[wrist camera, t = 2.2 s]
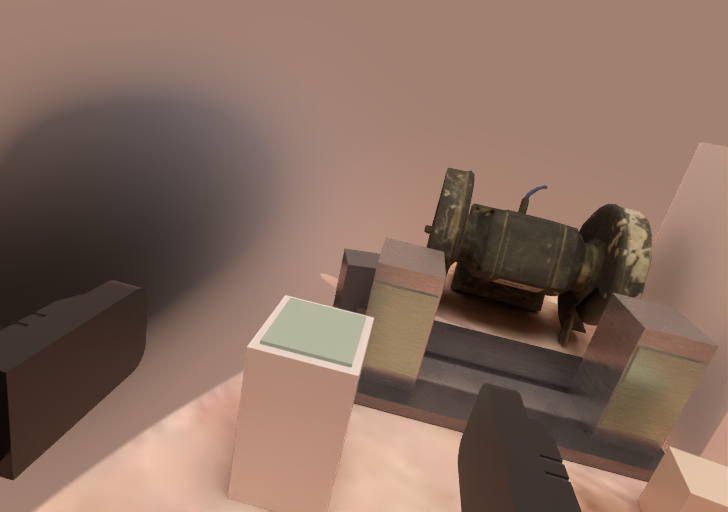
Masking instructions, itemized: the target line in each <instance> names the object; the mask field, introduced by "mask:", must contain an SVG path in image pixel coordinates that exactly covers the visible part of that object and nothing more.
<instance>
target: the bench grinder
mask: <svg viewBox="0 0 728 512" xmlns="http://www.w3.org/2000/svg"><path fill="white" fill-rule="evenodd" d="M473 187H474V173H473V172H472V171H462V170H457V169H452V168H448V169H447V172H446V176H445V180H444V184H443V188H442V191H441V196H440V199H439V202H438V206H437V210H436V213H435V217H434V221H433V224H432V226H428V225H427V226H426V227H425V232H426V233H429V234H430V235H429V240H428V244H427V248H430V249H434V250H439V251H443V252H444V257H445V270H446V277H447V273H448V270H449V268H450V266H451V265H452V264H453V263H454V262H457V265H456V268H455V272H454V276H453V280H452V285H451V288H452V289H454V290H457V291H461V292H465V293H469V294H472V295H476V296H480V297H484V298H487V299H491V300H495V301H498V302H502V303H506V304H510V305H514V306H517V307H521V308H525V309H529V310H533V311H541V308H542V304H543V300H544V296H545V295H548V296H557V295H558V316H559V320H560V324H561V332H560V335H559V338H558V342H561V343H565V342H568V340H569V337H570V333H571V330H576V331H579V332H583V333H586V330H585V328H584V324H583V322H584V323H586V324H588V325H594V326H596V325H598V324H599V321H600V319H601V317H602V315H603V312H604V310H605V308H606V306H607V304H608V301H609V299H610V297H611V295H612V293H616V294H620V295H624V296H629V297H633V298H637V299H641V298H642V294H643V290H644V286H645V282H646V279H647V275H648V272H649V268H650V264H651V259H652V244H651V241H652V239H651V238H652V234H651V229H650V225H649V222H648V221H647V219H646V217H645V216H644V215H643V214H642V213H641V212H638V211H635V210H631V209H626V208H622V207H619V206H618V205H616V204H607V205H604V206H602V207H601V208H599V209H598V210H597V211H596V212H594V213H593V214H592V215H591V217H590V218H589V219H588V220H587V221H586V222H585V223H584V224H583V225H582V228H581V229H580V231H579V232H578V229H577V228H574V227H570V226H567V225H564V224H561V223H557V222H554V221H550V220H546V219H542V218H538V217H534V216H530V215H526V211H527V207H528V203H529V197H530V195H532V194H533V193H535V192H536V191H538V190H540V189H546V188H547V186H541V187H537V188H535V189H533V190H531V191H530V192H529V193H527V195H526V196H525V197H524V198H523V199H522V201H521V205H520V208H519V211H518V212H514V211H510V210H501V209H495V208H490V207H486V206H483V205H478V204H473V205H472V206H471V210H470V214H468V213H469V208H470V202H471V198H472V192H473ZM443 289H444V288H443ZM442 293H443V291H442ZM441 297H442V295H441ZM440 300H441V298H440ZM439 304H440V302H439ZM438 307H439V305H438ZM437 309H438V308H437ZM564 330H565V333H564V336H563V338H562V335H563V332H564Z"/></svg>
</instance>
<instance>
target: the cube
mask: <svg viewBox="0 0 728 512" xmlns="http://www.w3.org/2000/svg"><path fill="white" fill-rule="evenodd" d="M641 300H645V301H649V302H653V303H658V304H662V305H666V306H670V307H674V308H676V309H677V310H678V311H679V312H680V313H681V314H682V315H684V316H685V317H686V318H687V319H688V320H689V321H691V322H692V323H693V324H694V325H695V326H696V327H697V328H699V329H700V330H701V331H702V332H703V333H704V334H705V335H707V336H708V337H709V338H710V339H711V340H712V341H714V342H715V343H716V344H717V345H718V346H719V347H718V348H717V350H716V352H715V354H714V355H713V357H712V359H711V361H710V362H709V364H708V366H707V368H706V369H705V371H704V373H703V375H702V376H701V378H700V380H699V382H698V383H697V385H696V387H695V389H694V390H693V392H692V394H691V396H690V397H689V399H688V401H687V403H686V404H685V406H684V408H683V410H682V411H681V413H680V415H679V417H678V418H677V420H676V422H675V424H674V425H673V427H672V429H671V431H670V432H669V434H668V436H667V438H666V439H667V441H668V443H669V445H670V447H673V448H676V449H679V450H681V451H684V452H687V453H690V454H693V455H695V456H698V457H701V458H704V459H707V460H709V461H712V462H715V463H718V464H721V465H724V466H726V467H728V146H722V145H715V144H708V143H701V142H700V143H699V145H698V147H697V150H696V152H695V154H694V156H693V158H692V160H691V163H690V165H689V167H688V169H687V171H686V173H685V176H684V178H683V180H682V182H681V184H680V186H679V188H678V190H677V193H676V195H675V197H674V199H673V201H672V203H671V205H670V208H669V210H668V212H667V214H666V216H665V219H664V220H663V223H662V225H661V227H660V229H659V231H658V233H657V236H656V238H655V240H654V242H653V244H652V259H651V264H650V268H649V272H648V275H647V279H646V282H645V286H644V290H643V294H642V298H641Z"/></svg>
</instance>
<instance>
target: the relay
mask: <svg viewBox="0 0 728 512" xmlns="http://www.w3.org/2000/svg"><path fill="white" fill-rule="evenodd" d="M379 257H380V254H377V253H370V252H364V251H357V250H350V249H345V250H344V255H343V260H342V266H341V270H340V275H339V280H338V285H337V290H336V295H335V300H334V304H333V307H334V308H338V309H342V310H346V311H350V312H354V313H357V310H358V306H359V303H360V302H363V303H367V304H368V302H369V298H370V294H371V289H372V285H373V281H374V277H375V272H376V268H377V264H378V260H379Z"/></svg>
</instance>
